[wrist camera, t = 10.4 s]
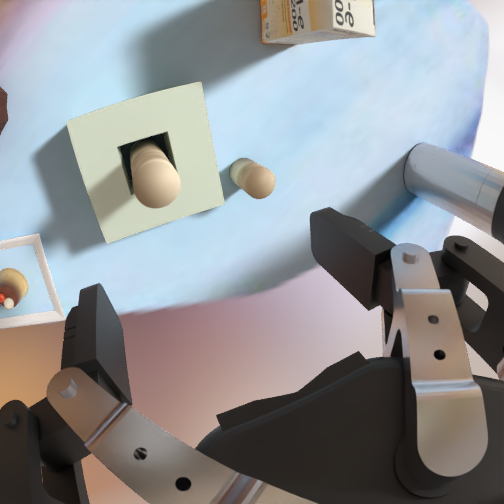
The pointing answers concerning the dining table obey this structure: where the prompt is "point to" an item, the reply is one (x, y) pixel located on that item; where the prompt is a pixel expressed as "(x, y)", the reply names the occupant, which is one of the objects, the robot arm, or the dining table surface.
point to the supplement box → (316, 20)
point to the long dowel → (153, 175)
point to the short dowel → (252, 178)
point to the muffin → (3, 109)
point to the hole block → (135, 128)
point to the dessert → (26, 287)
